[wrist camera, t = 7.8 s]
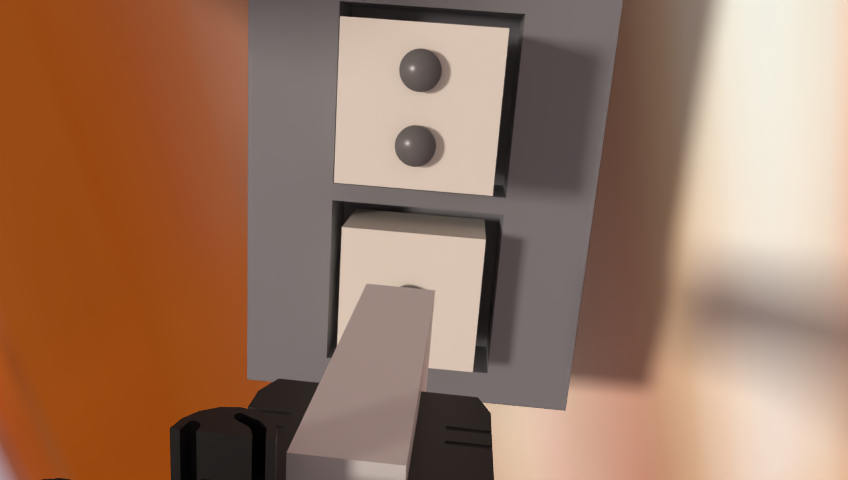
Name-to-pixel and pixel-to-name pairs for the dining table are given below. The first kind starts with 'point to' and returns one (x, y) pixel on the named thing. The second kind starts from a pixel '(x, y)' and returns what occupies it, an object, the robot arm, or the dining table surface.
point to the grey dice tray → (503, 212)
